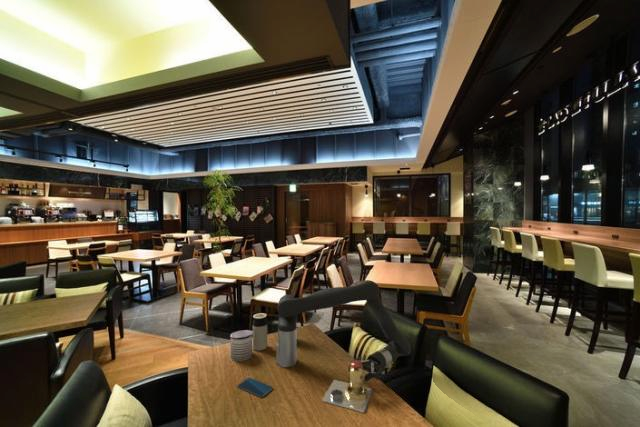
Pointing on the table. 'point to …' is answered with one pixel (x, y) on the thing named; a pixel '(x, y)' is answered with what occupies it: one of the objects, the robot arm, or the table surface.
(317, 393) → the table surface
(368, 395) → the fitting plate
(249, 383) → the smartphone
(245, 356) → the can
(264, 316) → the travel mug
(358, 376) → the brass valve
